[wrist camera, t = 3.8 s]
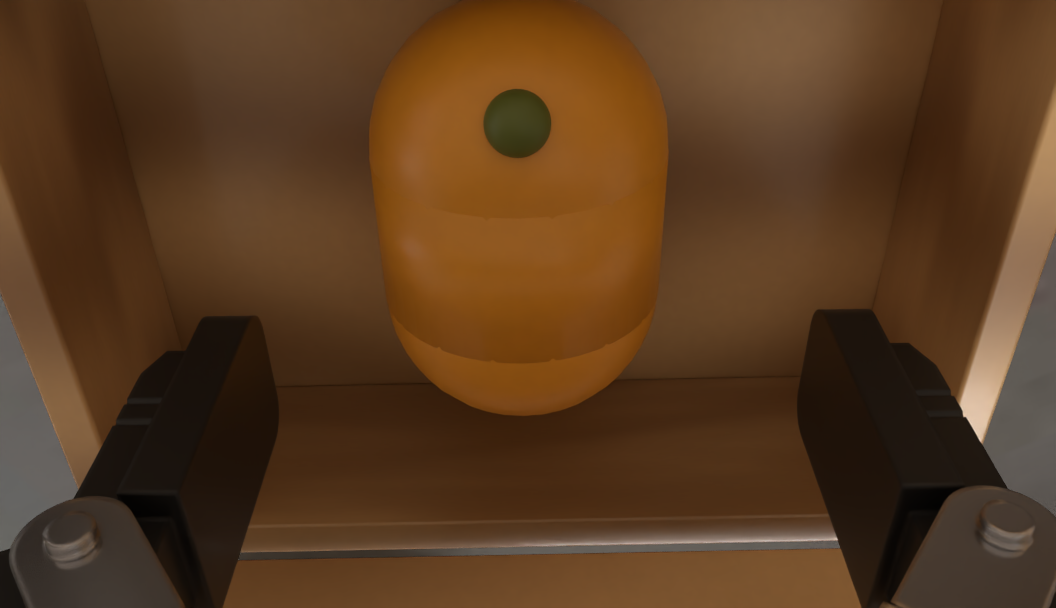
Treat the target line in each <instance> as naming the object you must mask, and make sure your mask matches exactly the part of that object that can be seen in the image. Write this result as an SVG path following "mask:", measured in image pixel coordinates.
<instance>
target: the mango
mask: <svg viewBox="0 0 1056 608" xmlns="http://www.w3.org/2000/svg"><path fill="white" fill-rule="evenodd" d="M668 154H669V149H668V127H667V115H666V111H665V108H664V104H663V100H662V96H661V92H660V88H659V86H658V84H657V82H656V80H655V78H654V76H653V74H652V72H651V70H650V68H649V66H648V64H647V62H646V61H645V59H644V57H643V56H642V54H641V53H640V52H639V50H638V49H637V48H636V47H635V46H634V44H633V43H632V42H631V41H630V39H629V38H628V37H627V36H626V35H625V33H624V32H622V31H621V30H620V29H619V28H617V27H616V26H615V25H614V24H612V23H611V22H610V21H609V20H607V19H606V18H605V17H603V16H602V15H601V14H600V13H598V12H597V11H596V10H594V9H592V8H590V7H588V6H585V5H583V4H581V3H579V2H576V1H574V0H462V1H460V2H458V3H456V4H454V5H452V6H450V7H448V8H446V9H444V10H442V11H440V12H438V13H436V14H435V15H434V16H433V17H432V18H430V19H429V20H428V21H427V22H426V23H425V24H423V25H422V26H421V27H420V28H419V29H418V30H416V31H415V32H414V33H413V34H412V35H411V36H409V37H408V39H407V40H406V41H405V43H404V44H403V45H402V47H401V48H400V49H399V51H398V52H397V53H396V55H395V56H394V57H393V59H392V60H391V62H390V64H389V66H388V67H387V69H386V72H385V74H384V76H383V78H382V81H381V83H380V85H379V87H378V90H377V92H376V94H375V99H374V104H373V108H372V113H371V118H370V127H369V162H370V169H371V177H372V186H373V194H374V202H375V210H376V219H377V227H378V235H379V243H380V252H381V260H382V268H383V276H384V285H385V293H386V300H387V304H388V308H389V312H390V316H391V320H392V323H393V326H394V329H395V331H396V334H397V336H398V338H399V340H400V342H401V344H402V345H403V347H404V349H405V351H406V353H407V354H408V356H409V357H410V358H411V360H412V361H413V362H414V364H415V365H416V366H417V367H418V368H419V370H420V371H421V372H422V373H423V374H424V375H425V376H426V377H427V378H428V379H429V380H430V381H431V382H432V383H434V384H435V385H436V386H437V387H438V388H440V389H441V390H442V391H444V392H445V393H447V394H449V395H451V396H452V397H454V398H456V399H458V400H460V401H462V402H463V403H465V404H467V405H469V406H471V407H474V408H477V409H480V410H483V411H486V412H491V413H496V414H502V415H513V416H530V415H542V414H548V413H552V412H557V411H561V410H564V409H567V408H569V407H572V406H575V405H577V404H579V403H581V402H583V401H584V400H586V399H588V398H590V397H591V396H593V395H595V394H596V393H598V392H599V391H601V390H602V389H604V388H606V387H607V386H608V385H609V384H610V383H611V382H612V381H614V380H615V379H616V378H617V377H618V376H619V375H620V374H621V373H622V371H623V370H624V369H625V368H626V367H627V365H628V364H629V363H630V362H631V361H632V359H633V358H634V356H635V355H636V353H637V352H638V350H639V349H640V347H641V345H642V343H643V341H644V339H645V337H646V335H647V332H648V330H649V328H650V325H651V322H652V318H653V315H654V311H655V306H656V301H657V296H658V288H659V275H660V262H661V248H662V235H663V222H664V208H665V195H666V181H667V168H668Z"/></svg>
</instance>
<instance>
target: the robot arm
mask: <svg viewBox="0 0 1056 608" xmlns="http://www.w3.org/2000/svg"><path fill="white" fill-rule="evenodd" d="M797 417H798V425H799V430H800V434H801V437H802V440H803V443H804V446H805V449H806V451H807V454H808V457H809V460H810V463H811V466H812V468H813V471H814V474H815V477H816V480H817V483H818V485H819V488H820V491H821V494H822V497H823V500H824V503H825V505H826V508H827V511H828V514H829V517H830V520H831V522H832V525H833V528H834V531H835V534H836V537H837V539H838V542H839V545H840V548H841V551H842V554H843V557H844V559H845V562H846V565H847V568H848V571H849V574H850V576H851V579H852V582H853V585H854V588H855V591H856V593H857V596H858V599H859V602H860V605H861V608H1056V517H1055V516H1054V515H1053V514H1052V513H1051V512H1050V511H1049V510H1047V509H1046V508H1045V507H1043V506H1042V505H1041V504H1039V503H1038V502H1036V501H1034V500H1033V499H1031V498H1029V497H1027V496H1025V495H1023V494H1020V493H1018V492H1015V491H1012V490H1009V489H1008V488H1007V487H1006V485H1005V483H1004V482H1003V480H1002V478H1001V476H1000V475H999V473H998V471H997V469H996V468H995V466H994V464H993V462H992V461H991V459H990V457H989V456H988V454H987V452H986V450H985V449H984V447H983V445H982V443H981V442H980V440H979V438H978V436H977V435H976V433H975V431H974V430H973V428H972V426H971V424H970V423H969V421H968V419H967V417H963V410H962V409H961V407H960V405H959V404H958V402H957V400H956V398H955V397H954V396H951V390H950V388H949V386H948V385H947V383H946V381H945V379H944V378H943V376H942V374H941V372H940V371H939V369H938V367H937V365H936V364H934V363H933V362H932V361H931V360H929V359H928V358H927V357H926V356H924V355H923V354H922V353H921V352H919V351H918V350H917V349H916V348H915V347H913V346H912V345H911V344H910V343H890V342H889V340H888V338H887V336H886V334H885V332H884V330H883V328H882V327H881V325H880V323H879V321H878V319H877V317H876V315H875V314H874V312H873V311H872V310H871V309H818V310H816V311H815V313H814V315H813V317H812V320H811V324H810V330H809V335H808V340H807V346H806V351H805V356H804V362H803V367H802V372H801V378H800V383H799V388H798V395H797ZM278 425H279V403H278V396H277V391H276V386H275V382H274V377H273V372H272V368H271V363H270V358H269V353H268V349H267V344H266V339H265V335H264V330H263V326H262V323H261V321H260V319H259V317H258V316H256V315H250V316H205V317H203V318H202V319H201V321H200V322H199V324H198V326H197V328H196V330H195V332H194V334H193V336H192V338H191V340H190V343H189V345H188V347H187V349H186V351H166V352H165V353H164V354H163V355H162V356H161V357H159V358H158V359H157V360H156V361H155V362H154V363H152V364H151V365H150V366H149V367H148V368H147V369H145V370H144V371H143V372H142V373H141V374H140V376H139V378H138V380H137V381H136V383H135V385H134V387H133V389H132V391H131V393H130V394H129V396H128V398H127V404H124V406H123V408H122V409H121V411H120V413H119V415H118V417H117V419H116V425H115V426H112V428H111V430H110V432H109V434H108V435H107V437H106V439H105V441H104V443H103V445H102V447H101V449H100V450H99V452H98V454H97V456H96V458H95V460H94V462H93V463H92V465H91V467H90V469H89V471H88V473H87V475H86V477H85V478H84V480H83V482H82V484H81V486H80V488H79V490H78V491H77V493H76V495H75V497H74V499H72V500H68V501H65V502H63V503H60V504H57V505H55V506H53V507H51V508H49V509H47V510H45V511H44V512H42V513H41V514H39V515H38V516H36V517H35V518H34V519H32V520H31V521H30V522H29V523H28V524H27V525H26V526H25V527H24V528H23V529H22V530H21V531H20V532H19V534H18V535H17V536H16V538H15V540H14V542H13V544H12V545H11V548H10V549H8V550H5V551H1V552H0V608H223V605H224V602H225V599H226V595H227V592H228V589H229V586H230V583H231V580H232V577H233V573H234V570H235V567H236V564H237V561H238V558H239V555H240V551H241V548H242V545H243V542H244V539H245V536H246V533H247V530H248V526H249V523H250V520H251V517H252V514H253V511H254V508H255V504H256V501H257V498H258V495H259V492H260V489H261V486H262V482H263V479H264V476H265V473H266V470H267V467H268V464H269V460H270V457H271V454H272V451H273V448H274V445H275V442H276V438H277V433H278Z"/></svg>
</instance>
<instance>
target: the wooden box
mask: <svg viewBox="0 0 1056 608" xmlns="http://www.w3.org/2000/svg"><path fill="white" fill-rule="evenodd" d="M460 1H462V0H0V293H1V296H2V298H3V301H4V303H5V306H6V309H7V311H8V314H9V316H10V319H11V321H12V324H13V326H14V329H15V331H16V334H17V336H18V339H19V341H20V344H21V346H22V349H23V351H24V354H25V356H26V359H27V361H28V364H29V366H30V369H31V371H32V374H33V376H34V379H35V381H36V384H37V386H38V389H39V392H40V394H41V397H42V399H43V402H44V404H45V407H46V409H47V412H48V414H49V417H50V419H51V422H52V424H53V427H54V429H55V432H56V434H57V437H58V439H59V442H60V444H61V447H62V449H63V452H64V454H65V457H66V459H67V462H68V464H69V467H70V469H71V472H72V475H73V477H74V480H75V482H76V485H77V487H78V490H79V488H80V486H81V484H82V482H83V480H84V478H85V477H86V475H87V473H88V471H89V469H90V467H91V465H92V463H93V462H94V460H95V458H96V456H97V454H98V452H99V450H100V449H101V447H102V445H103V443H104V441H105V439H106V437H107V435H108V434H109V432H110V430H111V428H112V426H115V425H116V419H117V417H118V415H119V413H120V411H121V409H122V408H123V406H124V404H127V398H128V396H129V394H130V393H131V391H132V389H133V387H134V385H135V383H136V381H137V380H138V378H139V376H140V374H141V373H142V372H143V371H144V370H145V369H147V368H148V367H149V366H150V365H151V364H152V363H154V362H155V361H156V360H157V359H158V358H159V357H161V356H162V355H163V354H164V353H165V352H166V351H186V349H187V347H188V345H189V343H190V340H191V338H192V336H193V334H194V332H195V330H196V328H197V326H198V324H199V322H200V321H201V319H202V318H203V317H205V316H250V315H256V316H258V317H259V319H260V321H261V323H262V326H263V330H264V335H265V339H266V344H267V349H268V353H269V358H270V363H271V368H272V372H273V377H274V382H275V386H276V391H277V396H278V403H279V425H278V433H277V438H276V442H275V445H274V448H273V451H272V454H271V457H270V460H269V464H268V467H267V470H266V473H265V476H264V479H263V482H262V486H261V489H260V492H259V495H258V498H257V501H256V504H255V508H254V511H253V514H252V517H251V520H250V523H249V526H248V530H247V533H246V536H245V539H244V542H243V545H242V548H241V551H240V552H285V551H336V550H386V549H437V548H488V547H539V546H590V545H641V544H692V543H743V542H794V541H838V539H837V537H836V534H835V531H834V528H833V525H832V522H831V520H830V517H829V514H828V511H827V508H826V505H825V503H824V500H823V497H822V494H821V491H820V488H819V485H818V483H817V480H816V477H815V474H814V471H813V468H812V466H811V463H810V460H809V457H808V454H807V451H806V449H805V446H804V443H803V440H802V437H801V434H800V430H799V425H798V417H797V395H798V388H799V383H800V378H801V372H802V367H803V362H804V356H805V351H806V346H807V340H808V335H809V330H810V324H811V320H812V317H813V315H814V313H815V311H816V310H818V309H871V310H872V311H873V312H874V314H875V315H876V317H877V319H878V321H879V323H880V325H881V327H882V328H883V330H884V332H885V334H886V336H887V338H888V340H889V342H890V343H910V344H911V345H912V346H913V347H915V348H916V349H917V350H918V351H919V352H921V353H922V354H923V355H924V356H926V357H927V358H928V359H929V360H931V361H932V362H933V363H934V364H936V365H937V367H938V369H939V371H940V372H941V374H942V376H943V378H944V379H945V381H946V383H947V385H948V386H949V388H950V390H951V396H954V397H955V398H956V400H957V402H958V404H959V405H960V407H961V409H962V410H963V417H967V419H968V421H969V423H970V424H971V426H972V428H973V430H974V431H975V433H976V435H977V436H978V438H979V440H980V442H981V443H982V444H983V441H984V439H985V436H986V433H987V430H988V427H989V424H990V421H991V418H992V415H993V412H994V410H995V407H996V404H997V401H998V398H999V395H1000V392H1001V389H1002V386H1003V383H1004V381H1005V378H1006V375H1007V372H1008V369H1009V366H1010V363H1011V360H1012V357H1013V354H1014V351H1015V349H1016V346H1017V343H1018V340H1019V337H1020V334H1021V331H1022V328H1023V325H1024V322H1025V320H1026V317H1027V314H1028V311H1029V308H1030V305H1031V302H1032V299H1033V296H1034V293H1035V291H1036V288H1037V285H1038V282H1039V279H1040V276H1041V273H1042V270H1043V267H1044V264H1045V262H1046V259H1047V256H1048V253H1049V250H1050V247H1051V244H1052V241H1053V238H1054V235H1055V233H1056V0H574V1H576V2H579V3H581V4H583V5H585V6H588V7H590V8H592V9H594V10H596V11H597V12H598V13H600V14H601V15H602V16H603V17H605V18H606V19H607V20H609V21H610V22H611V23H612V24H614V25H615V26H616V27H617V28H619V29H620V30H621V31H622V32H624V33H625V35H626V36H627V37H628V38H629V39H630V41H631V42H632V43H633V44H634V46H635V47H636V48H637V49H638V50H639V52H640V53H641V54H642V56H643V57H644V59H645V61H646V62H647V64H648V66H649V68H650V70H651V72H652V74H653V76H654V78H655V80H656V82H657V84H658V86H659V88H660V92H661V96H662V100H663V104H664V108H665V111H666V115H667V127H668V149H669V154H668V168H667V181H666V195H665V208H664V222H663V235H662V248H661V262H660V275H659V288H658V296H657V301H656V306H655V311H654V315H653V318H652V322H651V325H650V328H649V330H648V332H647V335H646V337H645V339H644V341H643V343H642V345H641V347H640V349H639V350H638V352H637V353H636V355H635V356H634V358H633V359H632V361H631V362H630V363H629V364H628V365H627V367H626V368H625V369H624V370H623V371H622V373H621V374H620V375H619V376H618V377H617V378H616V379H615V380H614V381H612V382H611V383H610V384H609V385H608V386H607V387H606V388H604V389H602V390H601V391H599V392H598V393H596V394H595V395H593V396H591V397H590V398H588V399H586V400H584V401H583V402H581V403H579V404H577V405H575V406H572V407H569V408H567V409H564V410H561V411H557V412H552V413H548V414H542V415H530V416H513V415H502V414H496V413H491V412H486V411H483V410H480V409H477V408H474V407H471V406H469V405H467V404H465V403H463V402H462V401H460V400H458V399H456V398H454V397H452V396H451V395H449V394H447V393H445V392H444V391H442V390H441V389H440V388H438V387H437V386H436V385H435V384H434V383H432V382H431V381H430V380H429V379H428V378H427V377H426V376H425V375H424V374H423V373H422V372H421V371H420V370H419V368H418V367H417V366H416V365H415V364H414V362H413V361H412V360H411V358H410V357H409V356H408V354H407V353H406V351H405V349H404V347H403V345H402V344H401V342H400V340H399V338H398V336H397V334H396V331H395V329H394V326H393V323H392V320H391V316H390V312H389V308H388V304H387V300H386V293H385V285H384V276H383V268H382V260H381V252H380V243H379V235H378V227H377V219H376V210H375V202H374V194H373V186H372V177H371V169H370V162H369V127H370V118H371V113H372V108H373V104H374V99H375V94H376V92H377V90H378V87H379V85H380V83H381V81H382V78H383V76H384V74H385V72H386V69H387V67H388V66H389V64H390V62H391V60H392V59H393V57H394V56H395V55H396V53H397V52H398V51H399V49H400V48H401V47H402V45H403V44H404V43H405V41H406V40H407V39H408V37H409V36H411V35H412V34H413V33H414V32H415V31H416V30H418V29H419V28H420V27H421V26H422V25H423V24H425V23H426V22H427V21H428V20H429V19H430V18H432V17H433V16H434V15H435V14H436V13H438V12H440V11H442V10H444V9H446V8H448V7H450V6H452V5H454V4H456V3H458V2H460Z"/></svg>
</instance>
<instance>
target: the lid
mask: <svg viewBox="0 0 1056 608" xmlns="http://www.w3.org/2000/svg"><path fill="white" fill-rule="evenodd" d="M223 608H861V605H860V602H859V599H858V596H857V593H856V591H855V588H854V585H853V582H852V579H851V576H850V574H849V571H848V568H847V565H846V562H845V559H844V557H843V554H842V551H841V548H839V549H788V550H737V551H686V552H635V553H584V554H533V555H483V556H432V557H381V558H330V559H279V560H238V561H237V564H236V567H235V570H234V573H233V577H232V580H231V583H230V586H229V589H228V592H227V595H226V599H225V602H224V605H223Z"/></svg>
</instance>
